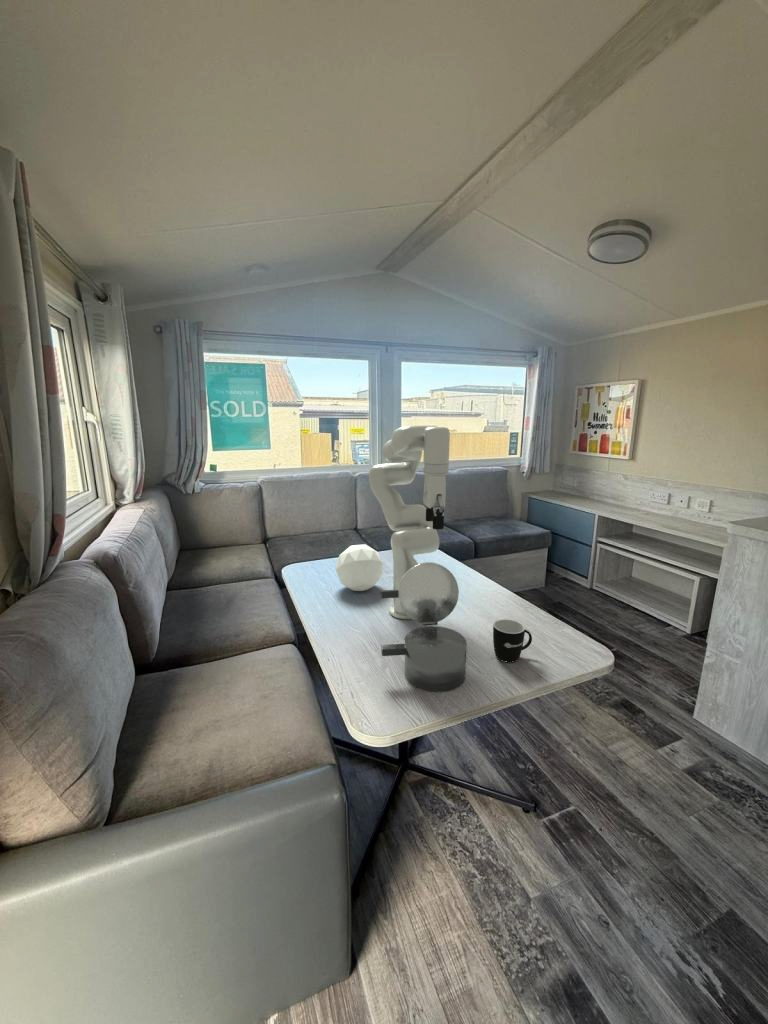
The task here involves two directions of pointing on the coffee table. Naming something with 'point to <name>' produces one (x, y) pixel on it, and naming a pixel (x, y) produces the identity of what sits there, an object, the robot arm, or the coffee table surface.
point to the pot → (432, 658)
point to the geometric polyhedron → (359, 567)
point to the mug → (509, 639)
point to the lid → (426, 593)
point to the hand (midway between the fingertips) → (434, 524)
